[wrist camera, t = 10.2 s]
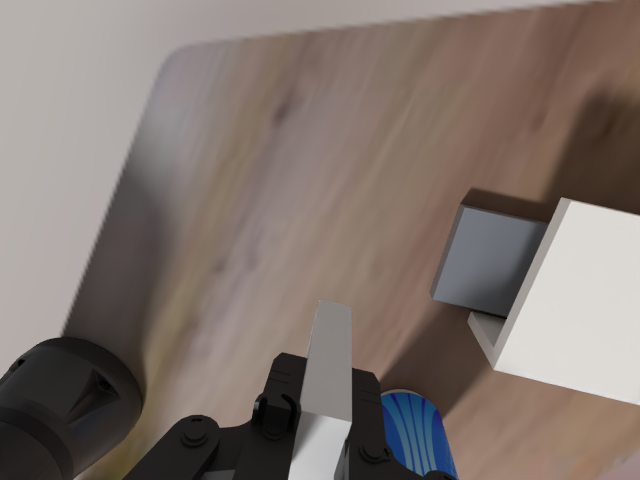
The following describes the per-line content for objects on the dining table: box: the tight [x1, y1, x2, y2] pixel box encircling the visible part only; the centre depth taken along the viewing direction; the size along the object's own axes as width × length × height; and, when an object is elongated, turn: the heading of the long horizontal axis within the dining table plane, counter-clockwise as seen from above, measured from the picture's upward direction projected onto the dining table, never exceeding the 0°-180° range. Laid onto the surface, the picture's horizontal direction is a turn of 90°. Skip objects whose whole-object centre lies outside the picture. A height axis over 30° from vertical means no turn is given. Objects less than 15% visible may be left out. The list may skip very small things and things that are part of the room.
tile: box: [430, 204, 549, 317], centre depth 32 cm, size 14×9×2 cm, turn 79°
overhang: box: [467, 197, 640, 405], centre depth 29 cm, size 12×14×7 cm
